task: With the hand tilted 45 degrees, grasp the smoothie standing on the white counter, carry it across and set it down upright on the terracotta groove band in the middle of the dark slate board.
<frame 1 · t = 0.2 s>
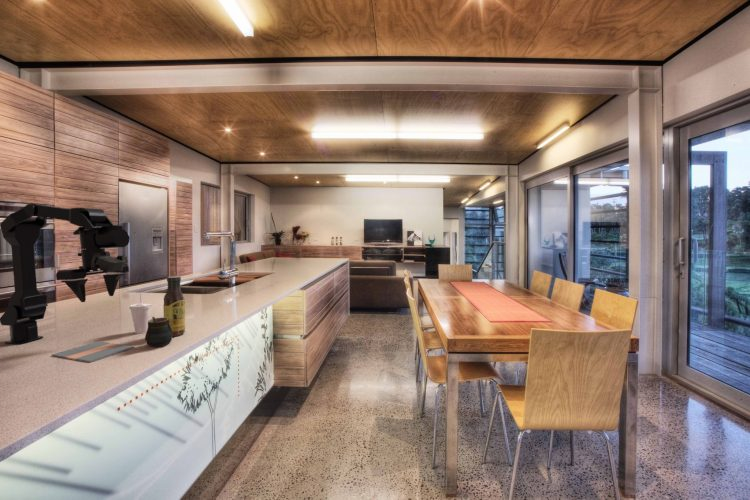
hand: (97, 298, 104), 14 cm above the counter, tool pointing down, fingers open, 9 cm apart
slate board: (94, 351, 99), on the counter
sauce bottle: (175, 335, 115), on the counter
mate gourd: (159, 345, 104), on the counter
smoothie: (141, 332, 118), on the counter
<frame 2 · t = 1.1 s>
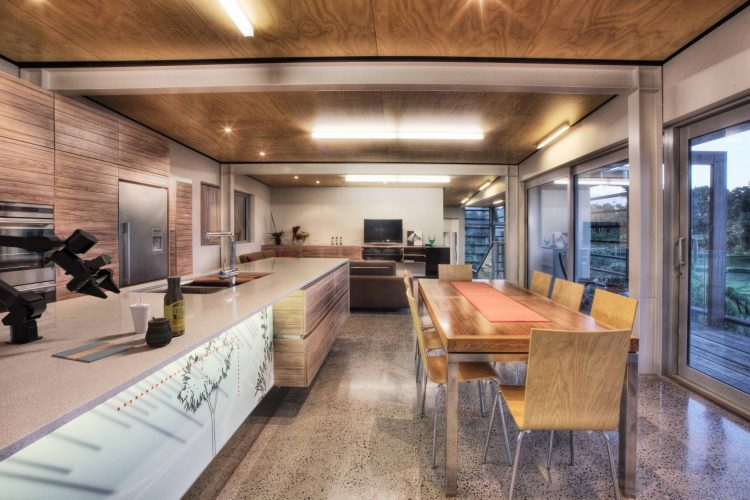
hand: (113, 295, 115), 13 cm above the counter, tool tilted 45°, fingers open, 9 cm apart
nothing on the counter moved.
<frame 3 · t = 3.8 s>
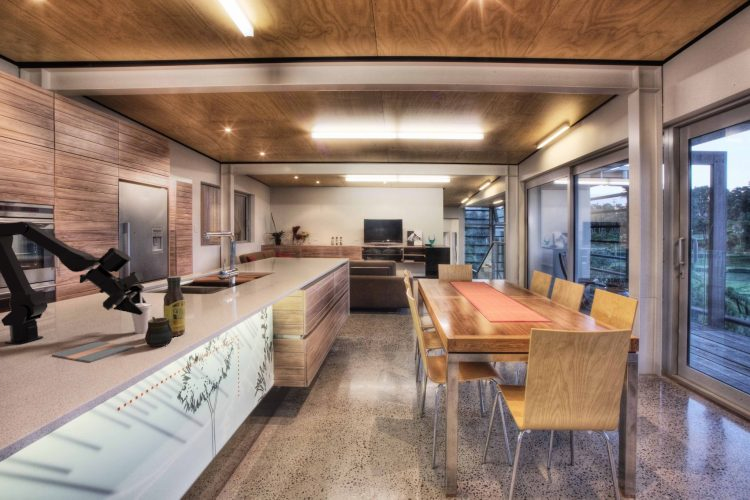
hand: (145, 311, 118), 7 cm above the counter, tool tilted 45°, fingers closed on smoothie, 6 cm apart
smoothie: (141, 332, 118), on the counter, touching gripper
everything else where it was.
when the fingers open (8 cm above the counter, at t = 7.4 s): smoothie stays where it is, resting on slate board.
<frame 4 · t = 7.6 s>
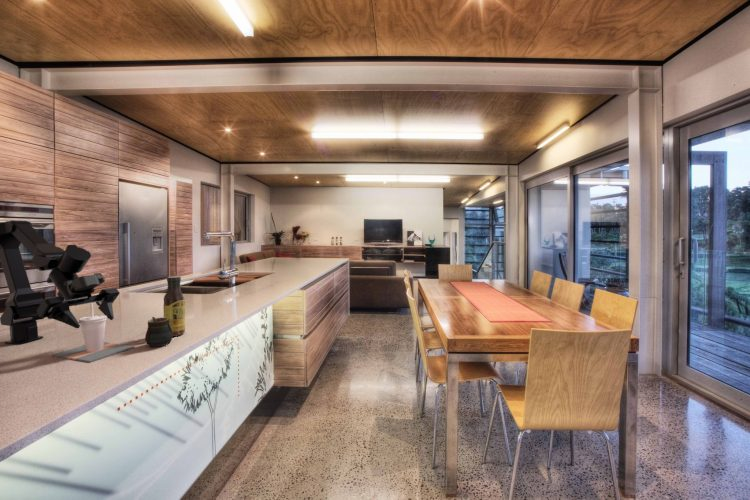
hand: (96, 323, 98), 9 cm above the counter, tool tilted 45°, fingers open, 9 cm apart
smoothie: (95, 350, 99), resting on slate board
everything else where it was.
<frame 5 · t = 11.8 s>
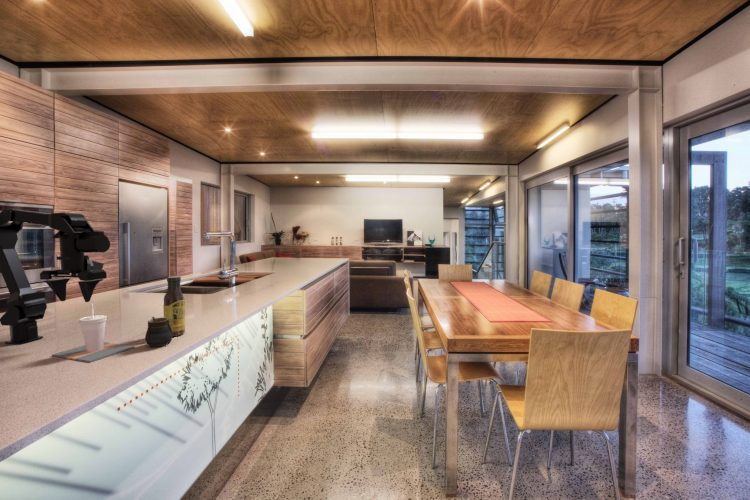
hand: (75, 301, 107), 13 cm above the counter, tool pointing down, fingers open, 9 cm apart
nothing on the counter moved.
at the end: smoothie inside the target area on the slate board (0.2 cm from its centre), point 0.2 cm above the slate board's base; smoothie tilted 0°; the gripper is holding nothing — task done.
